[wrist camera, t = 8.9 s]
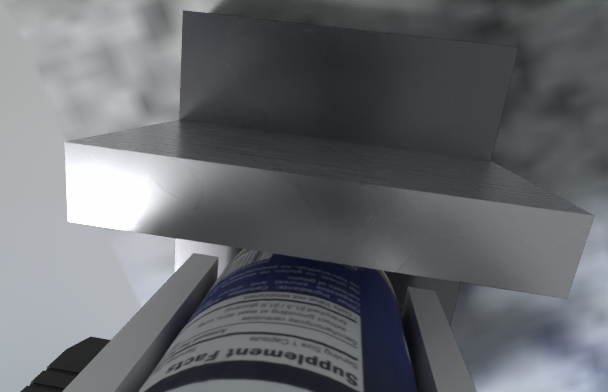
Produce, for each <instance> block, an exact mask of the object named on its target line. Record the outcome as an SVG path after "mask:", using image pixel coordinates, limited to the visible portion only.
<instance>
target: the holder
mask: <svg viewBox="0 0 608 392" xmlns="http://www.w3.org/2000/svg"><path fill="white" fill-rule="evenodd" d="M517 52H518V47H509V46H500V45H491V44H482V43H473V42H464V41H455V40H446V39H437V38H428V37H419V36H410V35H400V34H391V33H382V32H373V31H364V30H355V29H346V28H337V27H328V26H319V25H310V24H301V23H292V22H283V21H273V20H264V19H255V18H246V17H237V16H228V15H219V14H210V13H201V12H192V11H183V27H182V58H181V88H180V119H179V120H177V121H172V122H167V123H161V124H156V125H151V126H146V127H140V128H135V129H130V130H125V131H119V132H114V133H109V134H104V135H98V136H93V137H88V138H83V139H77V140H72V141H67V142H64V143H65V166H66V186H67V210H68V221H69V222H74V223H81V224H88V225H94V226H100V227H107V228H113V229H119V230H126V231H132V232H139V233H145V234H152V235H158V236H165V237H171V238H176V242H175V272H176V271H177V270H178V269H179V268H180V267H181V266H182V265H183V264H184V263H185V261H186V260H187V259H188V258H189V257H190V256H191V255H192V254H193V253H198V254H204V255H210V256H217V257H219V262H218V278H219V276H220V275H221V274H222V272H223V271H224V269H225V268H226V267H227V266H228V265H229V263H230V262H231V261H232V260H233V259H234V258H235V257H236V256H237V255H238V254H239V253H240V252H241V251H242V250H243V249H248V250H255V251H261V252H268V253H274V254H281V255H287V256H293V257H300V258H306V259H313V260H319V261H326V262H332V263H339V264H345V265H351V266H358V267H364V268H371V269H377V270H383V271H384V272H385V274H386V275H387V277H388V279H389V281H390V283H391V285H392V287H393V290H394V293H395V296H396V299H397V302H398V306H399V309H400V314H401V317H402V312H403V308H404V303H405V298H406V293H407V288H408V287H413V288H420V289H426V290H432V291H435V292H436V294H437V296H438V299H439V301H440V304H441V306H442V309H443V311H444V313H445V316H446V318H447V321H448V323H449V326H450V324H451V320H452V316H453V312H454V308H455V304H456V300H457V296H458V292H459V288H460V283H467V284H474V285H480V286H487V287H493V288H500V289H506V290H513V291H519V292H525V293H532V294H538V295H545V296H551V297H558V298H564V299H567V298H568V294H569V291H570V288H571V285H572V282H573V279H574V276H575V273H576V270H577V267H578V264H579V261H580V258H581V255H582V252H583V249H584V246H585V243H586V240H587V237H588V234H589V231H590V228H591V225H592V222H593V219H594V215H592V214H590V213H588V212H586V211H584V210H583V209H581V208H579V207H577V206H575V205H573V204H571V203H569V202H567V201H565V200H564V199H562V198H560V197H558V196H556V195H554V194H552V193H550V192H548V191H546V190H545V189H543V188H541V187H539V186H537V185H535V184H533V183H531V182H529V181H527V180H526V179H524V178H522V177H520V176H518V175H516V174H514V173H512V172H510V171H508V170H507V169H505V168H503V167H501V166H499V165H497V164H495V163H493V162H491V157H492V153H493V149H494V145H495V141H496V137H497V133H498V129H499V125H500V121H501V117H502V113H503V109H504V105H505V100H506V96H507V92H508V88H509V84H510V80H511V76H512V72H513V68H514V64H515V60H516V56H517ZM218 278H217V279H218Z"/></svg>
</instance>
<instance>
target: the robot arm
mask: <svg viewBox="0 0 608 392" xmlns="http://www.w3.org/2000/svg"><path fill="white" fill-rule="evenodd" d="M218 262H219V257H217V256H210V255H204V254H198V253H193V254H192V255H191V256H190V257H189V258H188V259H187V260H186V261H185V263H184V264H183V265H182V266H181V267H180V268H179V269H178V270H177V271H176V272H175V273H174V274H173V275H172V276H171V277H170V278H169V279H168V280H167V282H166V283H165V284H164V285H163V286H162V287H161V288H160V289H159V290H158V291H157V292H156V293H155V294H154V295H153V296H152V297H151V298H150V299H149V301H148V302H147V303H146V304H145V305H144V306H143V307H142V308H141V309H140V310H139V311H138V312H137V313H136V314H135V315H134V316H133V317H132V318H131V320H130V321H129V322H128V323H127V324H126V325H125V326H124V327H123V328H122V329H121V330H120V331H119V332H118V333H117V334H116V335H115V336H114V337H113V339H112V340H106V339H101V338H95V337H89V338H87V339H85V340H84V341H81V342H80V343H78V344H76V345H74V346H72V347H70V348H68V349H67V350H65V351H64V352H63V353H62V354H61V355H60V356H59V357H58V358H57V359H55V360H54V361H53V362H52V363H51V364H50V365H49V366H48V367H47V370H46V371H42V372H41V373H40V374H39V375H38V376H37V377H36V378H35V379H34V380H33V381H32V382H31V384H30V386H26V387H25V388H24V389H23V390H22V391H21V392H139V390H140V389H141V387H142V386H143V384H144V383H145V382H146V380H147V379H148V377H149V376H150V375H151V373H152V372H153V370H154V369H155V368H156V366H157V365H158V363H159V362H160V361H161V359H162V358H163V356H164V355H165V353H166V352H167V350H168V349H169V347H170V346H171V344H172V343H173V342H174V340H175V339H176V338H177V336H178V335H179V333H180V332H181V330H182V329H183V328H184V326H185V325H186V323H187V322H188V321H189V319H190V318H191V316H192V315H193V313H194V312H195V311H196V309H197V308H198V306H199V305H200V303H201V302H202V301H203V299H204V298H205V296H206V295H207V293H208V292H209V290H210V289H211V287H212V286H213V285H214V283H215V282H216V280H217V278H218ZM401 318H402V322H403V327H404V331H405V336H406V340H407V345H408V350H409V354H410V358H411V363H412V367H413V370H414V375H415V380H416V385H417V389H418V392H477V391H476V389H475V386H474V384H473V381H472V379H471V377H470V374H469V372H468V369H467V367H466V364H465V362H464V360H463V357H462V355H461V352H460V350H459V347H458V345H457V343H456V340H455V338H454V335H453V333H452V330H451V328H450V326H449V323H448V321H447V318H446V316H445V313H444V311H443V309H442V306H441V304H440V301H439V299H438V296H437V294H436V292H435V291H432V290H426V289H420V288H413V287H408V288H407V293H406V298H405V303H404V308H403V312H402V317H401Z"/></svg>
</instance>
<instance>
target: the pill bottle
mask: <svg viewBox="0 0 608 392" xmlns="http://www.w3.org/2000/svg"><path fill="white" fill-rule="evenodd" d="M139 392H418V389H417V385H416V380H415V375H414V370H413V367H412V363H411V358H410V354H409V350H408V345H407V340H406V336H405V331H404V327H403V322H402V318H401V314H400V309H399V306H398V302H397V299H396V296H395V293H394V290H393V287H392V285H391V283H390V281H389V279H388V277H387V275H386V274H385V272H384V271H383V270H377V269H371V268H364V267H358V266H351V265H345V264H339V263H332V262H326V261H319V260H313V259H306V258H300V257H293V256H287V255H281V254H274V253H268V252H261V251H255V250H248V249H243V250H242V251H241V252H240V253H239V254H238V255H237V256H236V257H235V258H234V259H233V260H232V261H231V262H230V263H229V265H228V266H227V267H226V268H225V269H224V271H223V272H222V274H221V275H220V276H219V278H218V279H217V280H216V282H215V283H214V285H213V286H212V287H211V289H210V290H209V292H208V293H207V295H206V296H205V298H204V299H203V301H202V302H201V303H200V305H199V306H198V308H197V309H196V311H195V312H194V313H193V315H192V316H191V318H190V319H189V321H188V322H187V323H186V325H185V326H184V328H183V329H182V330H181V332H180V333H179V335H178V336H177V338H176V339H175V340H174V342H173V343H172V344H171V346H170V347H169V349H168V350H167V352H166V353H165V355H164V356H163V358H162V359H161V361H160V362H159V363H158V365H157V366H156V368H155V369H154V370H153V372H152V373H151V375H150V376H149V377H148V379H147V380H146V382H145V383H144V384H143V386H142V387H141V389H140V390H139Z"/></svg>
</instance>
